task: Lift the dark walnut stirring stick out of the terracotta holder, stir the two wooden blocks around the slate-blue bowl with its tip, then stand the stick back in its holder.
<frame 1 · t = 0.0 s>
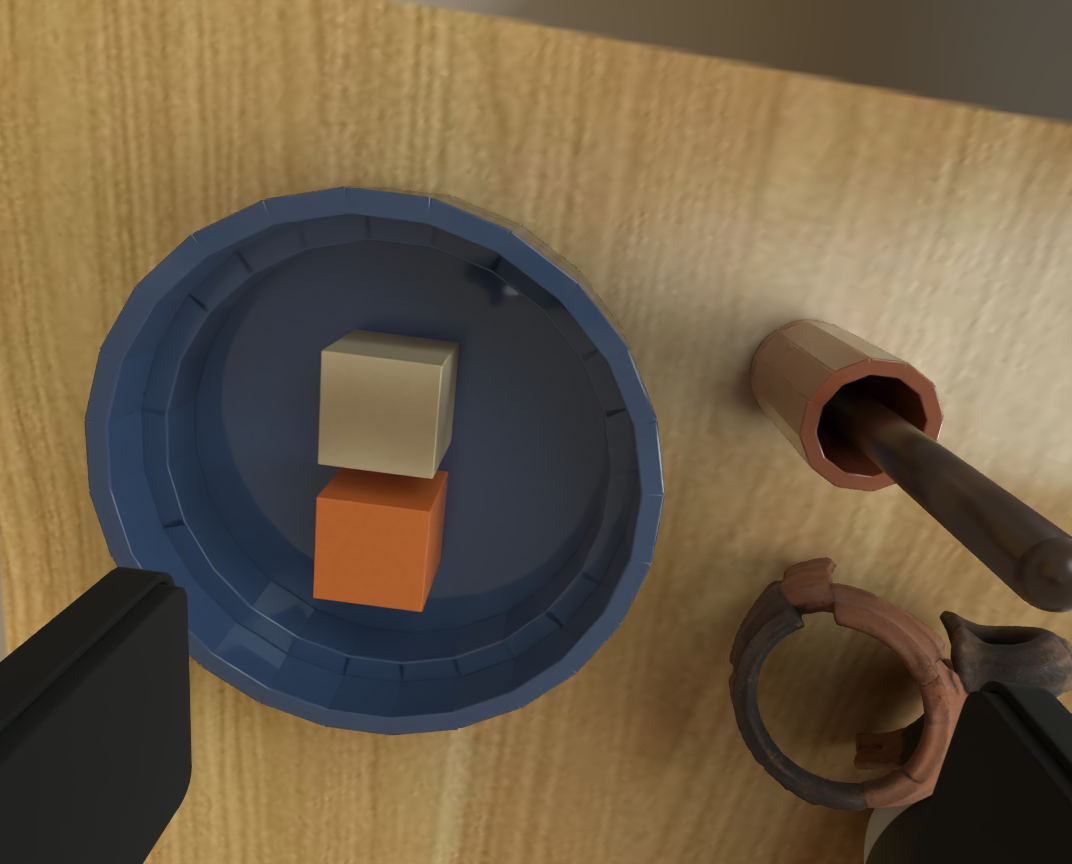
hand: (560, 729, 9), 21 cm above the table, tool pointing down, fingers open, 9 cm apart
stick: (807, 375, 28), point 1 cm above the table, touching holder
pump dispenser: (948, 805, 35), on the table
pottery mug: (861, 636, 32), on the table
orange block: (395, 510, 31), point 1 cm above the table, touching bowl
holder: (803, 372, 29), on the table
bowl: (402, 445, 31), on the table
pale block: (403, 386, 29), point 1 cm above the table, touching bowl
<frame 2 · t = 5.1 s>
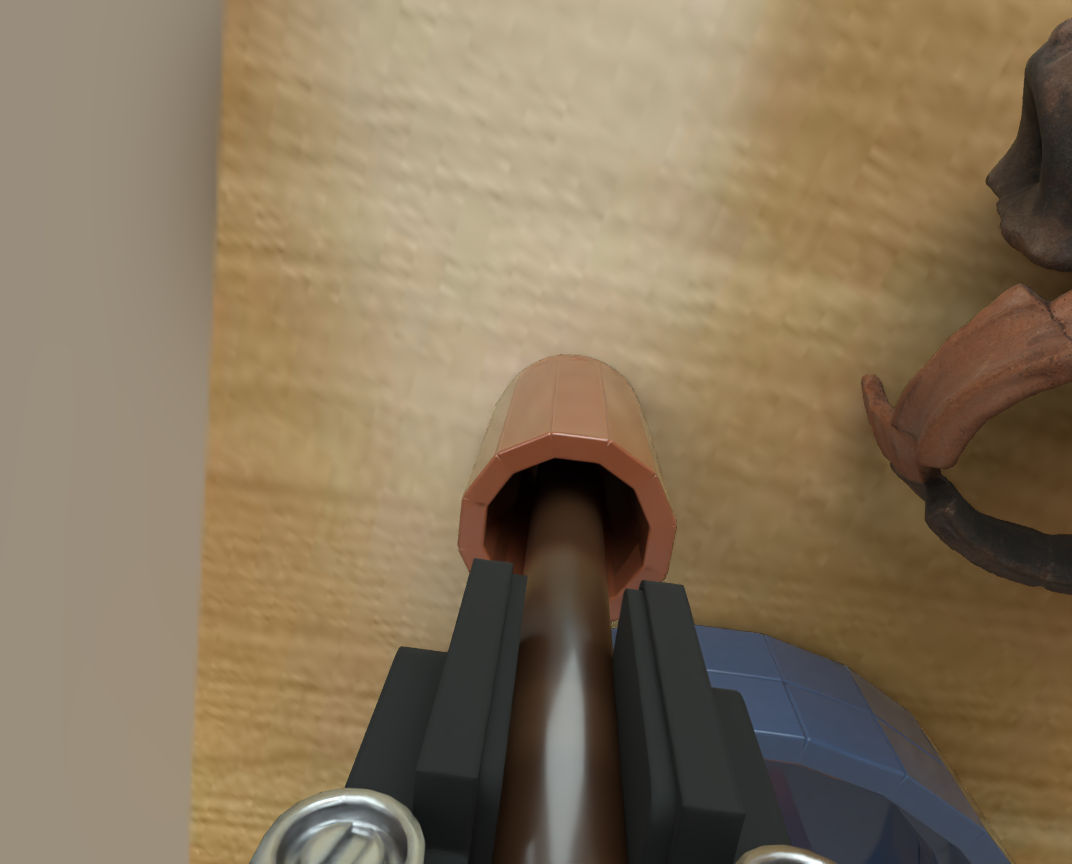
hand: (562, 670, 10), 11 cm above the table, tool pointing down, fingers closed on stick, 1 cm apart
stick: (568, 432, 20), point 1 cm above the table, touching gripper, holder
pottery mug: (1025, 292, 19), on the table
holder: (568, 426, 21), on the table
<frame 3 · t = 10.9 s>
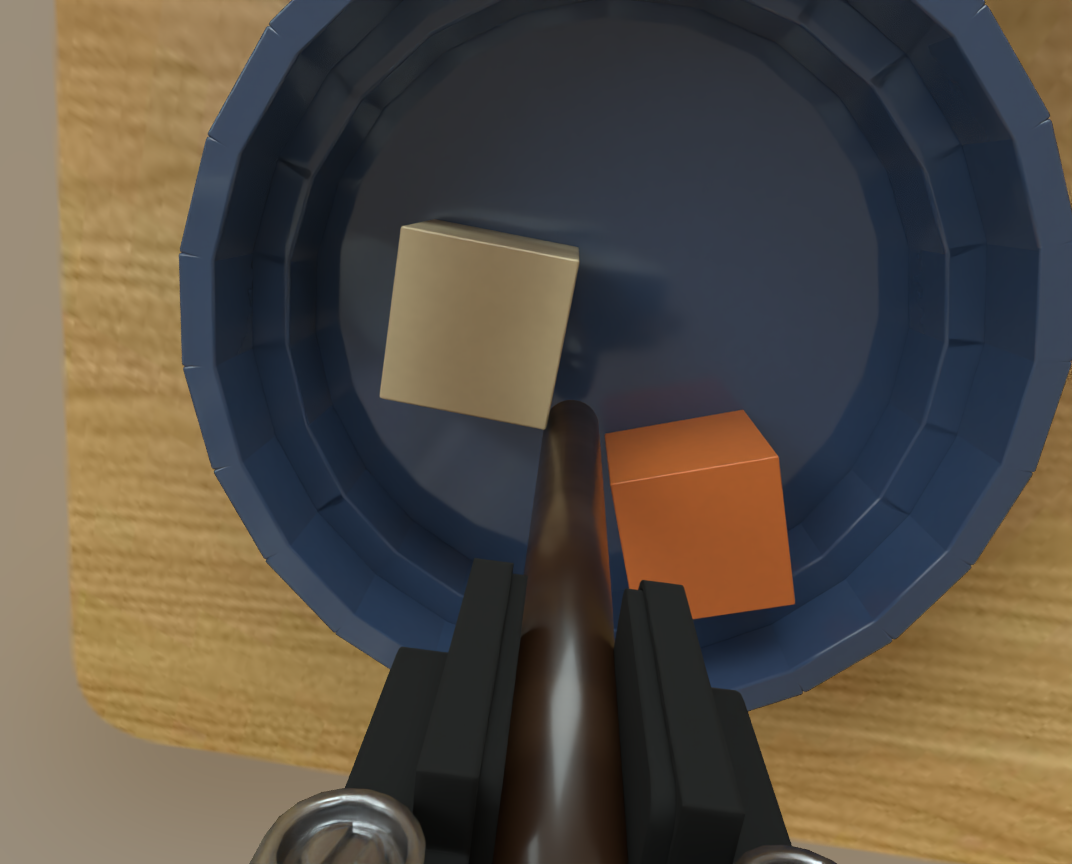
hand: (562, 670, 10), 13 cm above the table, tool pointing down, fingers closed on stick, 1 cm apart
stick: (571, 418, 20), point 2 cm above the table, touching gripper, pale block
orange block: (683, 485, 22), point 1 cm above the table, touching bowl
bowl: (605, 325, 22), on the table
pale block: (493, 306, 21), point 1 cm above the table, touching stick
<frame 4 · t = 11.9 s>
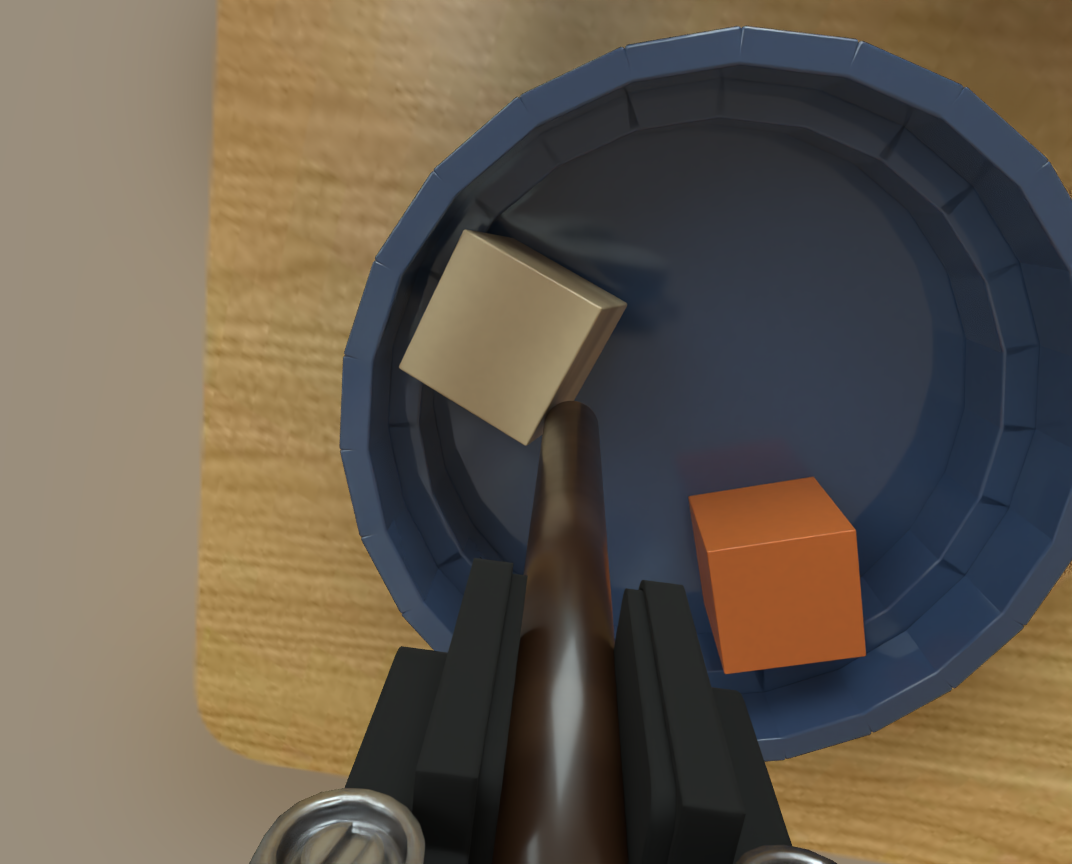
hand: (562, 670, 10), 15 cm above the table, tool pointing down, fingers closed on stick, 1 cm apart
stick: (571, 419, 20), point 4 cm above the table, touching gripper
orange block: (757, 541, 25), point 1 cm above the table, touching bowl
bowl: (690, 400, 24), on the table
pale block: (537, 330, 23), point 1 cm above the table, tilted 14°, touching bowl
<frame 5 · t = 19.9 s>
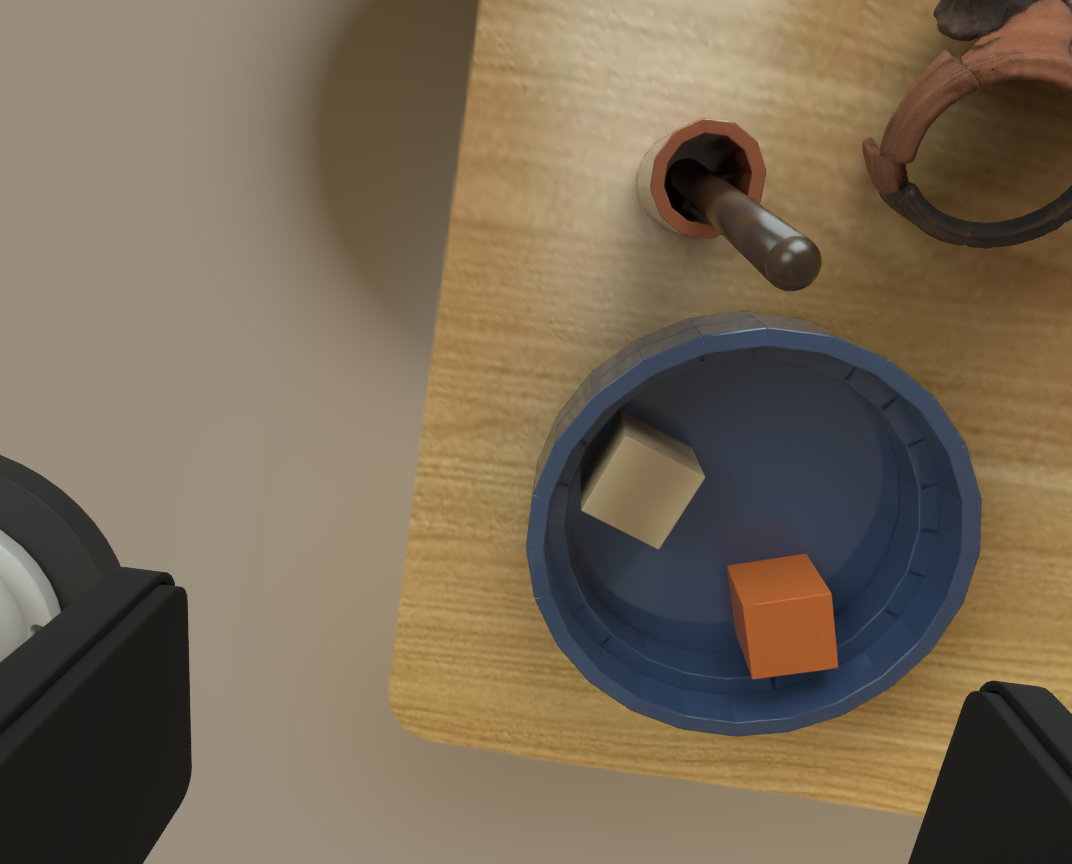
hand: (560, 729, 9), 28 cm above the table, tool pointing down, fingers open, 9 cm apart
stick: (684, 173, 33), point 1 cm above the table, tilted 10°, touching holder
pottery mug: (960, 90, 32), on the table
orange block: (770, 593, 39), point 1 cm above the table, touching bowl
holder: (681, 181, 34), on the table
bowl: (728, 505, 38), on the table
pale block: (635, 463, 37), point 1 cm above the table, touching bowl
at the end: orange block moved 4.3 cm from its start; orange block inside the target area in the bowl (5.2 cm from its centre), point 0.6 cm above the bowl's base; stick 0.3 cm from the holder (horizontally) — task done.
